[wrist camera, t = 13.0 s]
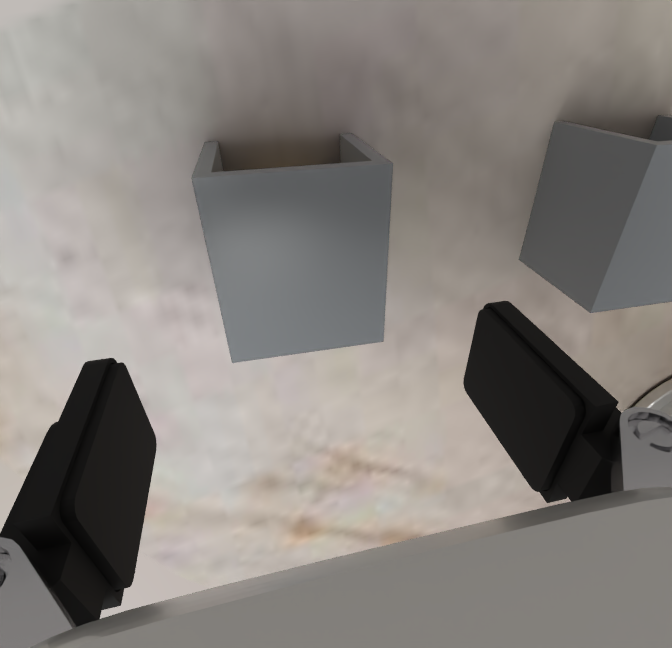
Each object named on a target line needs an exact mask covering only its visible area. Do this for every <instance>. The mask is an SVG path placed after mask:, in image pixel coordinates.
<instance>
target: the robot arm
mask: <svg viewBox="0 0 672 648" xmlns="http://www.w3.org/2000/svg"><path fill="white" fill-rule="evenodd" d="M464 388H465V391H466V393H467V394H468V396H469V397H470V399H471V400H472V402H473V403H474V405H475V406H476V407H477V409H478V410H479V412H480V413H481V415H482V416H483V418H484V419H485V421H486V422H487V424H488V425H489V426H490V428H491V429H492V431H493V432H494V434H495V435H496V437H497V438H498V440H499V441H500V443H501V444H502V446H503V447H504V448H505V450H506V451H507V453H508V454H509V456H510V457H511V459H512V460H513V462H514V463H515V465H516V466H517V467H518V469H519V470H520V472H521V473H522V475H523V476H524V478H525V479H526V481H527V482H528V484H529V485H530V486H531V488H532V489H533V490H535V491H537V492H540V493H541V495H542V496H543V498H544V499H545V501H546V502H547V503H550V502H554V501H558V500H562V499H566V498H567V496H568V497H569V499H570V500H571V501H572V502H567V503H563V504H558V505H553V506H549V507H545V508H541V509H537V510H532V511H528V512H524V513H520V514H515V515H511V516H507V517H503V518H498V519H494V520H490V521H486V522H481V523H477V524H473V525H469V526H464V527H460V528H456V529H452V530H448V531H444V532H439V533H435V534H431V535H427V536H423V537H419V538H415V539H410V540H406V541H402V542H398V543H394V544H390V545H386V546H381V547H377V548H373V549H369V550H365V551H361V552H357V553H353V554H348V555H344V556H340V557H336V558H332V559H328V560H324V561H320V562H316V563H312V564H308V565H303V566H299V567H295V568H291V569H287V570H283V571H279V572H275V573H271V574H267V575H263V576H259V577H255V578H251V579H247V580H243V581H239V582H235V583H231V584H227V585H223V586H218V587H214V588H210V589H207V590H203V591H199V592H195V593H192V594H188V595H184V596H180V597H176V598H173V599H169V600H165V601H161V602H158V603H154V604H150V605H146V606H142V607H139V608H135V609H131V610H128V611H124V612H121V613H118V614H115V615H112V616H109V617H105V618H102V619H100V614H101V610H104V609H108V608H112V607H117V606H120V605H121V602H122V597H123V592H124V588H128V587H130V586H131V585H132V582H133V578H134V573H135V568H136V562H137V556H138V550H139V545H140V539H141V533H142V528H143V522H144V516H145V511H146V505H147V499H148V493H149V488H150V482H151V476H152V471H153V465H154V459H155V454H156V437H155V434H154V431H153V429H152V427H151V424H150V422H149V420H148V417H147V415H146V413H145V410H144V408H143V406H142V403H141V401H140V398H139V396H138V394H137V391H136V389H135V387H134V384H133V382H132V380H131V377H130V375H129V372H128V370H127V368H126V366H125V364H124V363H117V362H116V360H115V359H114V358H108V359H101V360H94V361H87V362H85V364H84V365H83V367H82V370H81V372H80V374H79V376H78V379H77V381H76V383H75V385H74V387H73V390H72V392H71V394H70V396H69V399H68V401H67V403H66V405H65V408H64V410H63V412H62V414H61V417H60V419H59V421H58V422H55V423H54V424H53V425H51V427H50V428H49V430H48V432H47V434H46V436H45V438H44V440H43V442H42V445H41V447H40V449H39V451H38V453H37V455H36V457H35V460H34V462H33V464H32V466H31V468H30V470H29V473H28V475H27V477H26V479H25V481H24V483H23V486H22V488H21V490H20V492H19V494H18V496H17V499H16V501H15V503H14V505H13V507H12V509H11V511H10V514H9V516H8V518H7V520H6V522H5V524H4V527H3V529H2V531H1V533H0V648H672V379H670V380H668V381H666V382H664V383H663V384H661V385H660V386H658V387H657V388H655V389H654V390H652V391H651V392H650V393H648V394H647V395H646V396H645V397H643V398H642V399H641V400H640V401H639V402H638V403H637V404H636V405H635V406H634V407H632V408H629V409H626V410H625V411H624V412H623V413H621V412H620V411H619V410H618V409H617V408H616V406H617V404H618V401H617V400H616V399H615V398H614V397H613V396H612V395H610V394H609V393H608V392H607V391H606V390H605V389H604V388H603V387H602V386H601V385H600V384H599V383H597V382H596V381H595V380H594V379H593V378H592V377H591V376H590V375H589V374H588V373H587V372H585V371H584V370H583V369H582V368H581V367H580V366H579V365H578V364H577V363H576V362H575V361H573V360H572V359H571V358H570V357H569V356H568V355H567V354H566V353H565V352H564V351H563V350H561V349H560V348H559V347H558V346H557V345H556V344H555V343H554V342H553V341H552V340H551V339H550V338H548V337H547V336H546V335H545V334H544V333H543V332H542V331H541V330H540V329H539V328H538V327H536V326H535V325H534V324H533V323H532V322H531V321H530V320H529V319H528V318H527V317H526V316H524V315H523V314H522V313H521V312H520V311H519V310H518V309H517V308H516V307H515V306H514V305H512V304H511V303H510V302H508V301H502V302H495V303H488V304H486V305H485V306H484V308H483V309H482V310H480V311H479V313H478V317H477V321H476V326H475V330H474V335H473V340H472V344H471V349H470V353H469V358H468V362H467V367H466V372H465V376H464Z"/></svg>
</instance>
